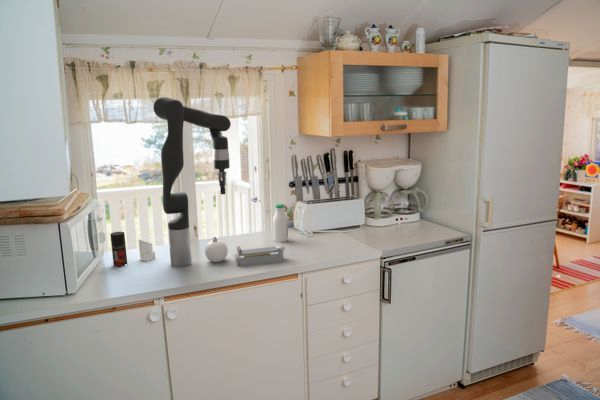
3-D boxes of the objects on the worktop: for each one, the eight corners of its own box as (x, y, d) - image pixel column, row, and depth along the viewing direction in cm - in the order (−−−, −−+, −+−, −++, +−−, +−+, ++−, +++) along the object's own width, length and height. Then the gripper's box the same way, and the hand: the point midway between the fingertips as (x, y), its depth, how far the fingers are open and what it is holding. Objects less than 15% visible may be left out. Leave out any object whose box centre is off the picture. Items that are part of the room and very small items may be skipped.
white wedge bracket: (131, 256, 212) (138, 239, 214) (149, 262, 220) (155, 245, 221) (135, 258, 210) (142, 240, 212) (153, 263, 217) (159, 246, 219)
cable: (245, 264, 205) (245, 258, 205) (244, 261, 209) (244, 255, 208) (271, 261, 209) (271, 255, 208) (269, 259, 212) (269, 252, 211)
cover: (286, 250, 209) (286, 245, 209) (239, 256, 203) (238, 250, 203) (283, 247, 215) (283, 241, 214) (237, 252, 209) (236, 246, 208)
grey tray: (237, 267, 203) (237, 257, 202) (232, 256, 218) (232, 247, 217) (285, 261, 209) (285, 252, 208) (277, 251, 224) (277, 242, 223)
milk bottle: (286, 243, 237) (285, 206, 233) (271, 242, 239) (270, 205, 235) (289, 239, 245) (288, 202, 241) (275, 238, 246) (274, 202, 242)
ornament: (210, 266, 204) (209, 241, 202) (202, 260, 213) (201, 235, 210) (231, 262, 210) (230, 237, 207) (222, 256, 218) (221, 232, 216)
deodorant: (128, 262, 212) (125, 231, 209) (126, 266, 207) (122, 234, 204) (115, 263, 211) (112, 232, 208) (112, 267, 206) (108, 235, 203)
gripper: (228, 159, 211) (230, 196, 214) (229, 156, 223) (231, 191, 227) (212, 160, 210) (214, 197, 213) (214, 157, 223) (216, 191, 226)
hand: (223, 194), depth 220 cm, fingers closed
